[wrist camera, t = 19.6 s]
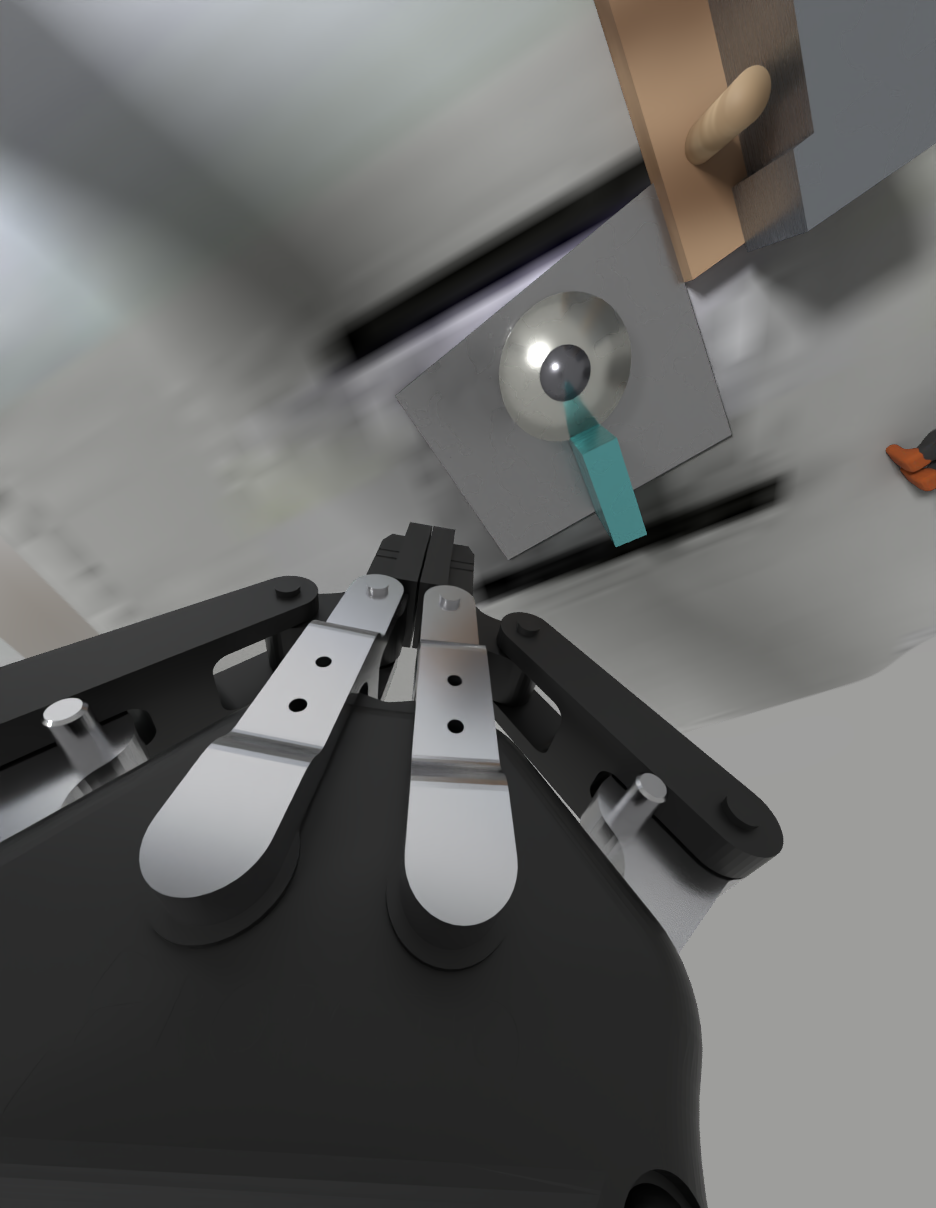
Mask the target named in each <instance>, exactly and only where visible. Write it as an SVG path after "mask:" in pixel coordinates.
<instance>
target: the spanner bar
mask: <svg viewBox="0 0 936 1208" xmlns="http://www.w3.org/2000/svg"><path fill="white" fill-rule="evenodd" d="M708 4H709V8H710V12H711V17H712V21H713V26H714V30H715V34H716V39H717V43H718V48H719V52H720V57H721V61H722V65H723V70H724V74H725V79H726V83H727V88H728V87H729V86H730V85H731V84H732V82H733V81H734V80H735V79H736V78H737V77H738V76H739V75H740V74H741V73H742V72H743V71H744V70H746V69H747V68H749V67H751V66H754V65H760V66H763V67H764V68H766V69H767V71H768V72H769V75H770V78H771V91H770V96H769V99H768V102H767V104H766V107H765V108H764V110H763V112H762V113H761V115H760V116H759V117H758V118H757V119H756V120H755V121H754V122H753V123H752V124H750V125H749V126H748V127H747V128H746V129H744V130H743V131H742V132H741V133H740V134H738V136H739V141H740V145H741V149H742V154H743V158H744V163H745V167H746V172H747V177H745V178H744V179H743V180H742V181H740V182H739V183H738V184H736V185H735V186H734V187H732V192H733V196H734V200H735V204H736V208H737V212H738V216H739V220H740V224H741V229H742V233H743V237H744V241H745V245H746V249H747V252H749V251H752V250H755V249H758V248H761V247H764V246H767V245H770V244H773V243H776V242H778V241H781V240H784V239H787V238H790V237H793V236H796V235H799V234H802V233H805V232H808V231H809V230H811V229H812V228H814V227H815V226H816V225H818V224H819V223H821V222H822V221H824V220H825V219H827V218H828V217H829V216H831V215H832V214H834V213H835V212H837V211H838V210H840V209H841V208H842V207H844V206H845V205H847V204H848V203H850V202H851V201H853V200H854V199H855V198H857V197H858V196H860V195H861V194H863V193H864V192H866V191H867V190H868V189H870V188H871V187H873V186H874V185H876V184H877V183H879V182H880V181H881V180H883V179H884V178H886V177H887V176H889V175H890V174H892V173H893V172H894V171H896V170H897V169H899V168H900V167H902V166H903V165H905V164H906V163H908V162H909V161H910V160H912V159H913V158H915V157H916V156H918V155H919V154H921V153H922V152H923V151H925V150H926V149H928V148H929V147H931V146H932V145H934V144H935V143H936V0H708Z"/></svg>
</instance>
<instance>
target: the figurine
mask: <svg viewBox="0 0 936 1208" xmlns="http://www.w3.org/2000/svg"><path fill="white" fill-rule="evenodd" d="M886 453H887V454H889V456H890V458H891V459H892V460H893V461H894V462H895V463H896V464H897V465H899V466H900V467H901V468H900V471H901V472H902V473H903V475H904V476H905V477H906V479H907V480H908V481H910V482H911V483H912V484H914V485H915V486H917V487H918V488H919V489H921V490H924V491H931V490H934V489H936V429H934V430H933V431H931V432H930V433H929V434H928V435H927V436H926V437H925V438H924V440H923V441H922V443H921V444H920V445H919V446H918V447H917V448H913V449H903V448H902V447H900V446H898V445H895V444H893V445H890V446H889V447H887V448H886ZM929 463H930V464H929ZM928 464H929V465H928ZM927 465H928V467H927V468H923V467H925V466H927Z"/></svg>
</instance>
